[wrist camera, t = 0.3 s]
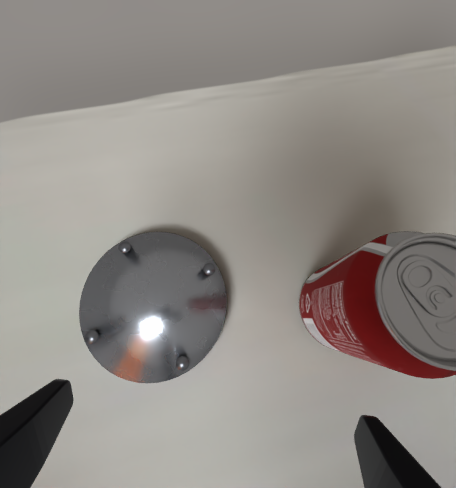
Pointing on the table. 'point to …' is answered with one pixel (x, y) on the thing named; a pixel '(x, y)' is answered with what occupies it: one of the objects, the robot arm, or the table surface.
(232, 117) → the table surface
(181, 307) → the flange
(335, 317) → the soda can
